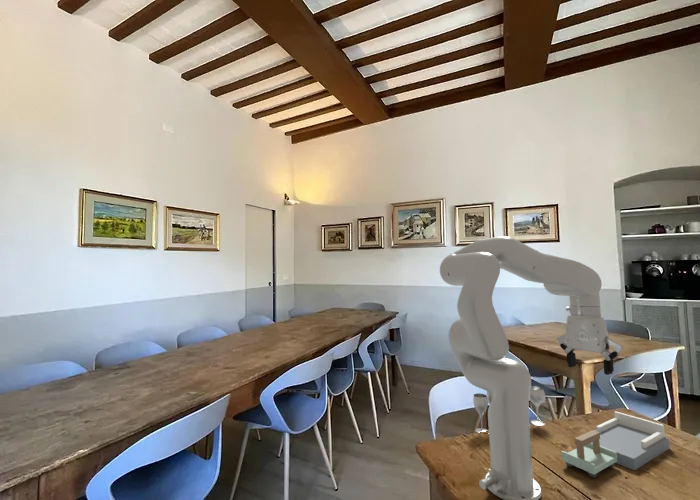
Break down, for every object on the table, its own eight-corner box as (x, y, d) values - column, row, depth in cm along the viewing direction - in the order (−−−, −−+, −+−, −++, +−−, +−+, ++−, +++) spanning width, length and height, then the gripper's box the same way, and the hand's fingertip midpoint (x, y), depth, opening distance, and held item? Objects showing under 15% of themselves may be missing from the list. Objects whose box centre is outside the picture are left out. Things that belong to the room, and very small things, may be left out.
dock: (634, 470, 90) (632, 445, 91) (578, 448, 102) (576, 425, 103) (669, 448, 101) (667, 425, 101) (614, 430, 113) (613, 410, 113)
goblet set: (481, 436, 112) (479, 395, 113) (471, 428, 117) (469, 389, 118) (551, 425, 118) (548, 386, 119) (538, 418, 124) (535, 381, 125)
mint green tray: (594, 481, 86) (592, 447, 87) (562, 466, 93) (560, 435, 94) (617, 467, 92) (615, 435, 92) (585, 454, 99) (583, 424, 99)
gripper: (549, 310, 107) (552, 365, 106) (612, 315, 92) (618, 379, 91) (562, 309, 111) (566, 362, 109) (625, 313, 96) (630, 375, 94)
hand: (589, 370), depth 100 cm, fingers open, 9 cm apart
